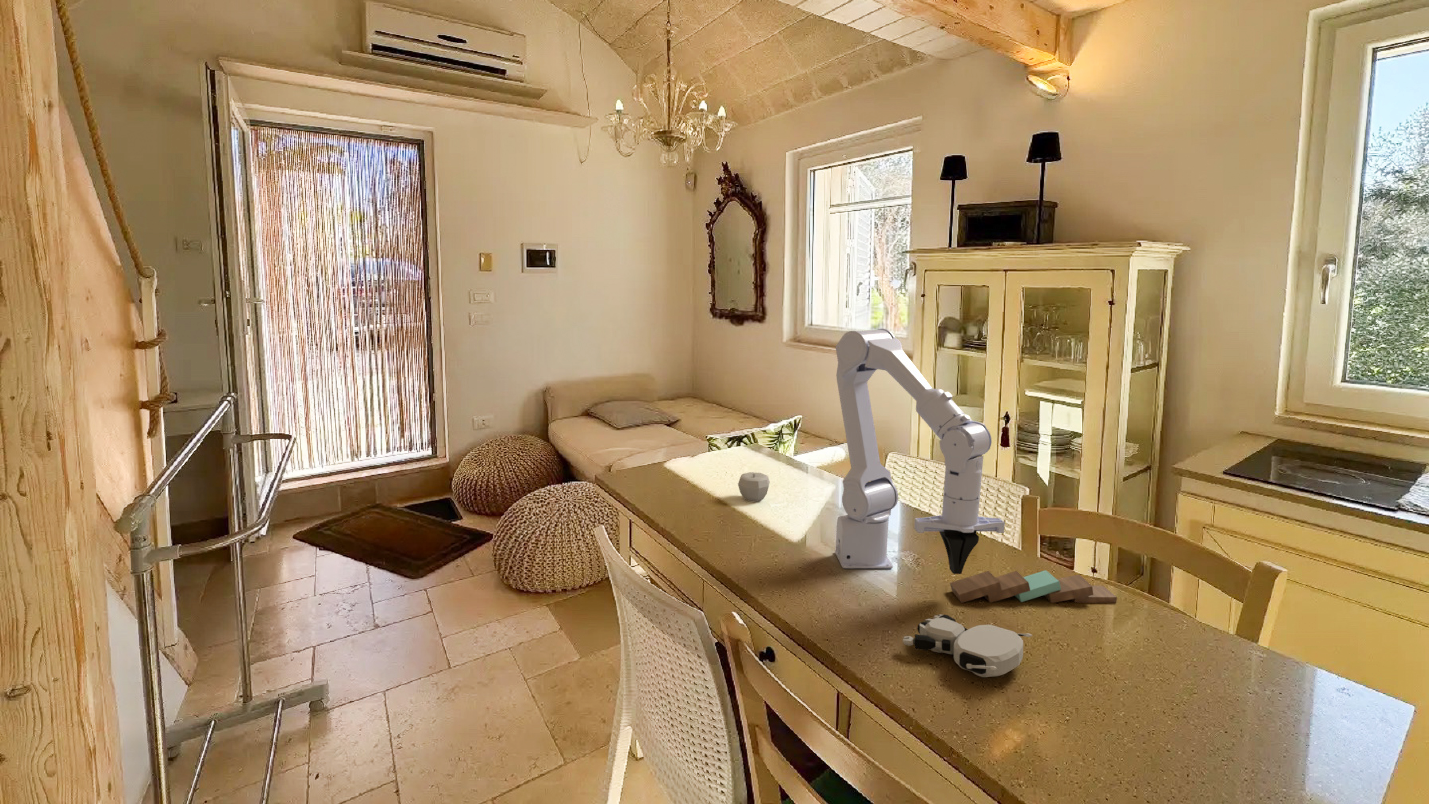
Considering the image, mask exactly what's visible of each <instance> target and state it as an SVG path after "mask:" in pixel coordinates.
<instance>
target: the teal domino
mask: <svg viewBox="0 0 1429 804" xmlns="http://www.w3.org/2000/svg"><path fill="white" fill-rule="evenodd" d="M1022 577H1023V578H1024V579H1025V580H1027V581H1028V583H1029V587H1030V591H1028V592H1024V593H1021V594H1018V595H1014V596H1015V598H1016V599H1017V600H1019V601H1020V603H1023V602H1026V601H1029V600H1033V599H1036V598H1039V597H1041V596H1044V595H1045V594H1049V593H1052V592H1055V591H1058V590H1061V587H1060V583H1059V581H1058V580H1057V579H1058V578H1056V577H1054V576H1053V575H1052V574H1051V573H1050V572H1049V571H1047V570H1046V569H1045V570H1042V571H1039V572H1036V573H1032V574H1029V575H1025V576H1022ZM1014 596H1013V597H1014Z"/></svg>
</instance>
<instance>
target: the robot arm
mask: <svg viewBox="0 0 1429 804" xmlns="http://www.w3.org/2000/svg"><path fill="white" fill-rule="evenodd" d="M835 352H836V353H835V354H836V357H837V368H836V383H837V389H838V397H839V403H840V408H841V414H842V420H843V426H844V427H843V428H844V433H845V438H846V444H847V450H848V456H849V457H848V458H849V462H850V469H849V470H848V472H847V474H846V476H844V478H843V480H842V485H843V486H842V487H843V490H842V491H843V493H842V496H841V504H842V506H843V507H842V508H843V509H844V511H845V513H846V515H839V516H838V517H837V520H836V530H835V531H836V534H835V550H834V553H835V555H836V557H837V559H838V561H839V564H840V566H841V568H842V569H893V567H894V566H893V564H892V562H891V560H890V559H889V558H888V555H887V554H888V553H887V551H888V538H889V537H888V535H889V533H888V532H889V518H890V516H891V514H892V509H894V508H895V507H896V506H897V504H898V501H899V493H898V489H897V487H896V485H895V484H894V482H893V479H892V476H891V472H890V470H888V468H886V467H885V466H884V465H883V464H881V459H880V453H879V447H878V441H877V433H876V428H875V422H874V415H873V409H872V405H871V398H870V397H871V396H870V391H869V386H868V385H869V384H868V381H869V380H870V378H872V376H873V374H874V373H875V372H876V371H878V370H881V371H886V373H888V374H889V375H890V376H891V377H892V378H893V379H894V380H895V381H896V382H897V383H898V384H899V386H901V387H902V388H903V389H904V390H905V392H907V393H908V394H909V395H910V396H911V397H912V399H914V400H915V401H916V402H915V403H916V404H915V410H916V411H915V412H917V414H918V415H919V416H920V418H921V419H922V420H923V421H924V422H925V424H926V425H927V427H929V428H930V430H932V431H933V433H934V434H935V436H936V437H938V439H940V440H939V448H940V451H941V453H942V454H943V457H944V466H945V468H944V469H945V470H944V473H945V474H944V484H943V485H944V486H943V497H942V508H941V510H942V511H941V514H940V515H933V516H926V517H915V518H914V524H913V525H914V527H913V528H914V530H915V531H916V532H917V533H918V534H924V533H925V532H939V534H940V536H941V539H942V541H943V544H944V547H945V550H946V553H947V554H946V556H947V560H948V566H949V571H950V572H951V573H952V574H953V575H962V574H963V570H964V568H965V567H964V566H965V564H966V562H967V560H968V557H969V556H970V554H971V552H972V550H974V548H975V547H976V546H977V544H978V543H979V540H980V537H979V535H978V534H977V532H996V533H998V534H1004V533H1005V521H1004V520H1003V519H1002V518H1001V517H985V516H979V514H980V513H979V511H980V500H981V488H982V478H983V477H982V476H983V465H984V455H985V454H987V453H988V451H989V450H990V449H991V446H992V443H993V442H992V441H993V440H992V439H993V438H992V436H991V432H990V431H989V429H988V428H987V426H986V424H984V423H982V422H980V421H978V420H977V421H976V420H973V419H972V418H971V416H970V415H969V414H965V412H964V411H963V410H962V409H961V408H960V407H959V406H958V405H957V403H956V402H955V401H954V400H953V395H952V394H951V392H950V391H945V390H943V388H933V387H932V386H931V385H930V384H929V382H928V381H927V379H926V378H925V376H923V374H922V373H921V371H919V369H918V368H917V367H916V365H915V364H914V363H913V362H912V360H911V359H910V358H909V356H908V355H907V354H906V353H905V352H904V349H903V346H902V342H901V340H899V339H898V338H897V337H896V336H895V335H894V333H893V332H892V331H890V330H889V329H887V328H877V329H869V330H868V329H867V330H849V331H846V332H845V333H844V334H843V335H842V336H841V338H840V339H839V341H838V342H837V343H836V345H835Z"/></svg>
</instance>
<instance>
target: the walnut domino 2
mask: <svg viewBox="0 0 1429 804" xmlns="http://www.w3.org/2000/svg"><path fill="white" fill-rule="evenodd" d="M994 577H995V578H996V579H997V580H998V581H999V582H1000V586H1001V589H1002V590H1001V591H998V592H995V593H992V594H989V595H986V596H983V597H984V598H985V599H986V600H987V601H988V603H990V604H991V603H994V602H998V601H1002V600H1005V599H1007V598H1011V597H1014V595H1018V594H1021V593H1024V592H1028V591H1030V587H1029V583H1028V581H1027V580H1025V579H1024V578H1023V577H1024V576H1022V574H1020V573H1019V572H1018V571H1017V570H1015V571H1012V572H1008V573H1006V574H1002V575H999V576H994Z"/></svg>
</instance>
